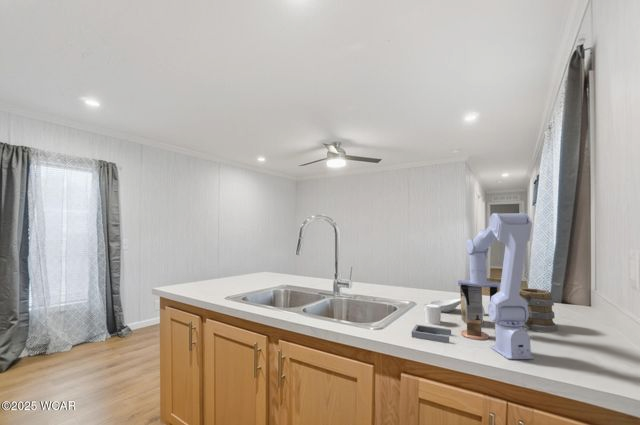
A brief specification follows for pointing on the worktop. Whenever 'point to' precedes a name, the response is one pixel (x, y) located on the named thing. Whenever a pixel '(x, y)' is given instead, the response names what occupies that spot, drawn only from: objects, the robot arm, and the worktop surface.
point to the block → (474, 327)
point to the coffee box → (472, 304)
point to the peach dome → (483, 336)
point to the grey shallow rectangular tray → (431, 333)
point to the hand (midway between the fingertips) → (479, 305)
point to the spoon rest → (450, 305)
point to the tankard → (539, 309)
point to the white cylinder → (432, 313)
